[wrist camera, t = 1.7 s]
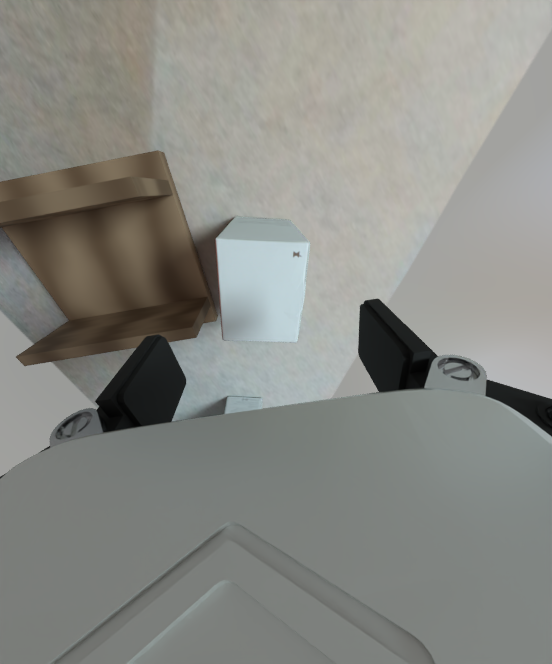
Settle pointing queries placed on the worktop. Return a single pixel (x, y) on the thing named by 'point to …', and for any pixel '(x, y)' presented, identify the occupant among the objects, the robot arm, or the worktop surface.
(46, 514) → the robot arm
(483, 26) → the worktop surface
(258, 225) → the small box
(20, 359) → the book rack
